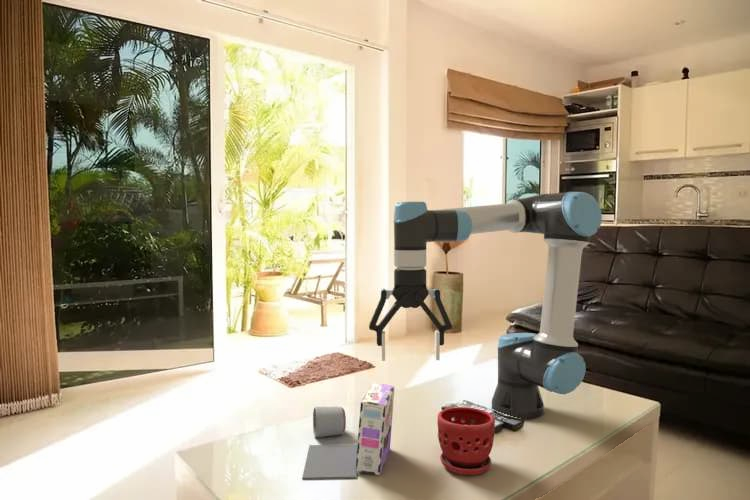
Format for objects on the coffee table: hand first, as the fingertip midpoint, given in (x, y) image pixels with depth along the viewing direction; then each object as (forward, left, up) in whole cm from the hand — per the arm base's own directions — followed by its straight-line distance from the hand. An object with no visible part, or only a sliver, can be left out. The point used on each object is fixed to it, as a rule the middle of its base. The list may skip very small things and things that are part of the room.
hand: (410, 359), depth 118 cm
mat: (+19, 0, -24) cm, 31 cm away
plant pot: (-13, +3, -25) cm, 28 cm away
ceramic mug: (+21, -16, -25) cm, 36 cm away
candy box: (+9, 0, -24) cm, 26 cm away
